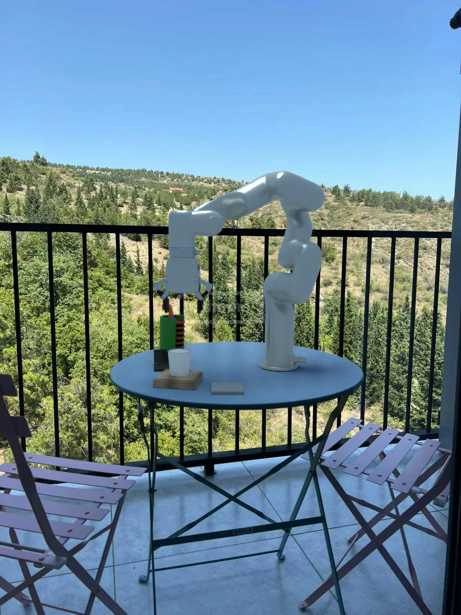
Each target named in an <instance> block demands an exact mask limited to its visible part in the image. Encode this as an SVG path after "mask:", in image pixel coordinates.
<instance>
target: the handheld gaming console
mask: <svg viewBox="0 0 461 615" xmlns="http://www.w3.org/2000/svg"><path fill="white" fill-rule="evenodd" d="M153 369H154V370H153V372H154V373H155V372H156V373H158V372H160V373H162V372H163V371H164V370H165V369H170V367H169V356H168V352H167V351H166V349H159V348H158V349H153Z"/></svg>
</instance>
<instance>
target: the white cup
mask: <svg viewBox="0 0 461 615" xmlns="http://www.w3.org/2000/svg"><path fill="white" fill-rule="evenodd" d="M168 356H169V367H170V375H172V376H177V377H182V376H187V375H189V371H190V370H191V359H192V350H191V349H186V348H184V349H172V350H169V351H168Z"/></svg>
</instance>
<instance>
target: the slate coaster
mask: <svg viewBox="0 0 461 615" xmlns="http://www.w3.org/2000/svg"><path fill="white" fill-rule="evenodd" d="M210 383H211V387H210V388H211V389H210V390H211V391H210V394H211V395H245V389H244V385H243V382H239V381H238V382H234V381H233V382H227V381H226V382H225V381H224V382H223V381H219V382H217V381H216V382H215V381H214V382H210Z"/></svg>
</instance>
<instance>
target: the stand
mask: <svg viewBox="0 0 461 615" xmlns="http://www.w3.org/2000/svg"><path fill="white" fill-rule="evenodd" d="M203 379H204V372H203V371H201V370H193V369H192V370H191V369H190V371H189V375H187V376H182V377H177V376H172V375H170V369H165V370H164V371H163V372H160V374H158V376H156V377H155V378H154V379H153V381H152V382H153V383H152V388H159V389H172V390H175V389H176V390H189V391H191V390H192V391H195V390H196V388H197V387H198V386H199V384H200V383H201V382H202V380H203Z"/></svg>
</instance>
